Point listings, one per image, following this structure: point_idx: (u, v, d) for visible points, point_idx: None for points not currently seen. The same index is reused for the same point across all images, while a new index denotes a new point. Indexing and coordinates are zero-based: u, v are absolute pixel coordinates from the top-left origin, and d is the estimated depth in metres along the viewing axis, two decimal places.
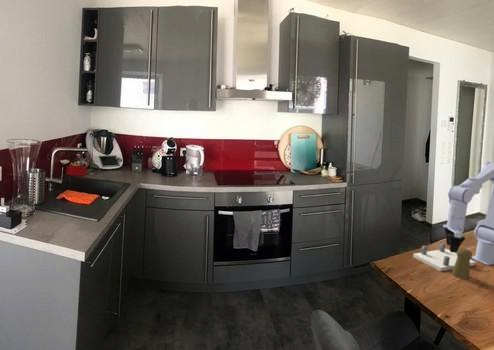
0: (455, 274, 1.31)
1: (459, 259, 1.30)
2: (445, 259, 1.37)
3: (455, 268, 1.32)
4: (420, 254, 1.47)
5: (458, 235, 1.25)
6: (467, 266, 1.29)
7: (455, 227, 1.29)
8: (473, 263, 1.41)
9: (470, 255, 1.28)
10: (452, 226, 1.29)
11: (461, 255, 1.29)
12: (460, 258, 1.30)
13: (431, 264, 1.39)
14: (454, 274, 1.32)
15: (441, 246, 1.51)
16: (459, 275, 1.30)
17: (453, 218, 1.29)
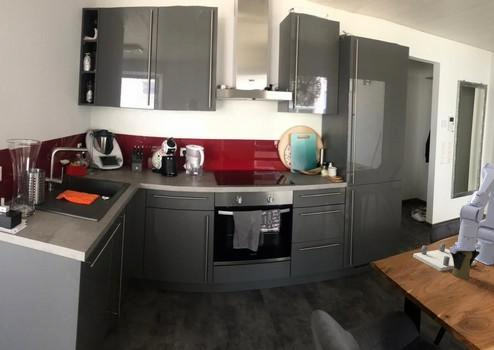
0: (455, 274, 1.31)
1: None
2: (445, 259, 1.37)
3: (455, 268, 1.32)
4: (420, 254, 1.47)
5: (452, 250, 1.27)
6: (467, 266, 1.29)
7: (460, 244, 1.29)
8: (473, 263, 1.41)
9: (470, 255, 1.28)
10: (458, 243, 1.30)
11: None
12: None
13: (431, 264, 1.39)
14: (454, 274, 1.32)
15: (441, 246, 1.51)
16: (459, 275, 1.30)
17: (459, 235, 1.29)
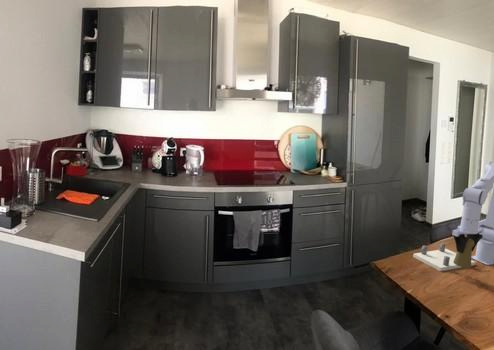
0: (457, 263, 1.30)
1: None
2: (445, 259, 1.37)
3: (457, 257, 1.30)
4: (420, 254, 1.47)
5: (454, 233, 1.26)
6: (469, 254, 1.28)
7: (462, 228, 1.28)
8: (473, 263, 1.41)
9: (473, 243, 1.27)
10: (461, 226, 1.29)
11: None
12: None
13: (431, 264, 1.39)
14: (456, 263, 1.30)
15: (441, 246, 1.51)
16: (461, 264, 1.29)
17: (462, 218, 1.28)
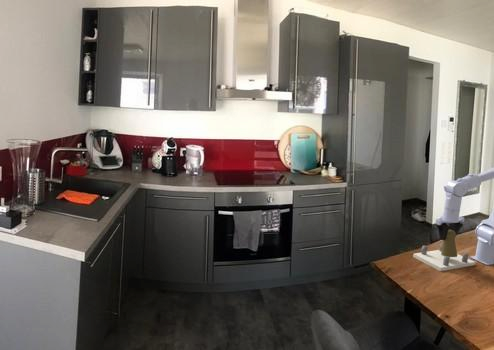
0: (444, 254, 1.41)
1: (445, 239, 1.41)
2: (445, 259, 1.37)
3: (443, 248, 1.42)
4: (420, 254, 1.47)
5: (437, 222, 1.39)
6: (453, 244, 1.40)
7: (445, 217, 1.40)
8: (473, 263, 1.41)
9: (454, 233, 1.40)
10: (443, 216, 1.41)
11: None
12: (446, 238, 1.41)
13: (431, 264, 1.39)
14: (443, 254, 1.41)
15: (441, 246, 1.51)
16: (448, 254, 1.40)
17: (444, 209, 1.41)
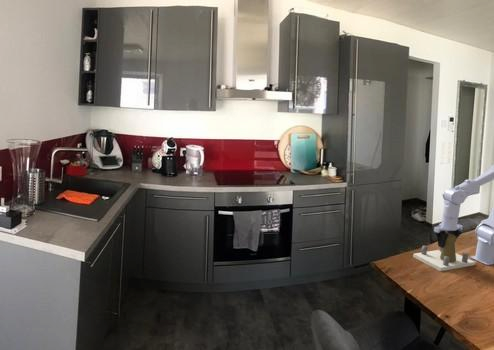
0: (443, 258, 1.41)
1: (445, 243, 1.41)
2: (445, 259, 1.37)
3: (442, 252, 1.42)
4: (420, 254, 1.47)
5: (436, 230, 1.39)
6: (453, 249, 1.40)
7: (443, 225, 1.41)
8: (473, 263, 1.41)
9: (455, 238, 1.39)
10: (442, 224, 1.42)
11: (447, 239, 1.40)
12: (446, 242, 1.41)
13: (431, 264, 1.39)
14: (442, 258, 1.42)
15: None
16: None
17: (443, 216, 1.42)
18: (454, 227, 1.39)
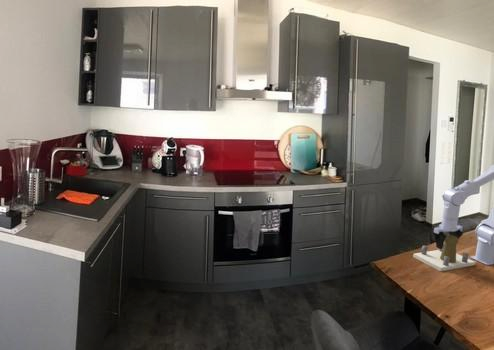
0: (443, 258, 1.41)
1: (447, 244, 1.40)
2: (445, 259, 1.37)
3: (443, 253, 1.42)
4: (420, 254, 1.47)
5: (435, 231, 1.40)
6: (454, 251, 1.39)
7: (443, 226, 1.41)
8: (473, 263, 1.41)
9: (457, 240, 1.39)
10: (441, 225, 1.42)
11: (449, 241, 1.39)
12: (447, 243, 1.40)
13: (431, 264, 1.39)
14: (442, 259, 1.42)
15: None
16: None
17: (443, 217, 1.42)
18: (454, 228, 1.39)
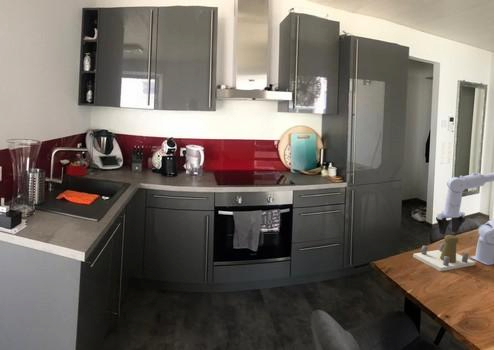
0: (443, 258, 1.41)
1: (447, 244, 1.41)
2: (445, 259, 1.37)
3: (443, 253, 1.42)
4: (420, 254, 1.47)
5: (439, 217, 1.46)
6: (454, 251, 1.39)
7: (446, 212, 1.47)
8: (473, 263, 1.41)
9: (457, 240, 1.39)
10: (444, 211, 1.48)
11: (449, 241, 1.39)
12: (447, 243, 1.40)
13: (431, 264, 1.39)
14: (442, 259, 1.42)
15: (441, 246, 1.51)
16: None
17: (445, 204, 1.48)
18: (456, 214, 1.45)
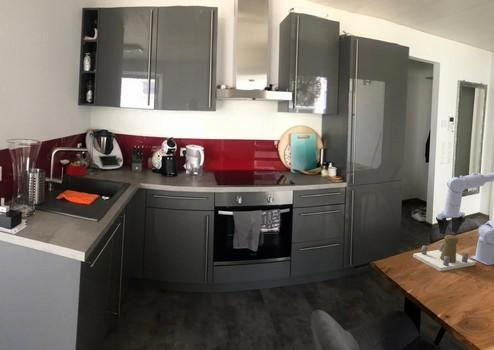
0: (443, 258, 1.41)
1: (447, 244, 1.41)
2: (445, 259, 1.37)
3: (443, 253, 1.42)
4: (420, 254, 1.47)
5: (439, 217, 1.46)
6: (454, 251, 1.40)
7: (446, 212, 1.47)
8: (473, 263, 1.41)
9: (457, 240, 1.39)
10: (444, 211, 1.48)
11: (449, 241, 1.39)
12: (447, 243, 1.40)
13: (431, 264, 1.39)
14: (442, 259, 1.42)
15: (441, 246, 1.51)
16: None
17: (445, 204, 1.48)
18: (456, 214, 1.45)
